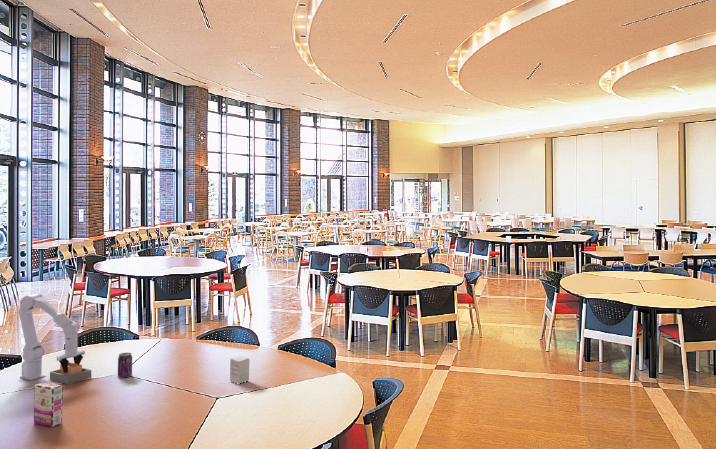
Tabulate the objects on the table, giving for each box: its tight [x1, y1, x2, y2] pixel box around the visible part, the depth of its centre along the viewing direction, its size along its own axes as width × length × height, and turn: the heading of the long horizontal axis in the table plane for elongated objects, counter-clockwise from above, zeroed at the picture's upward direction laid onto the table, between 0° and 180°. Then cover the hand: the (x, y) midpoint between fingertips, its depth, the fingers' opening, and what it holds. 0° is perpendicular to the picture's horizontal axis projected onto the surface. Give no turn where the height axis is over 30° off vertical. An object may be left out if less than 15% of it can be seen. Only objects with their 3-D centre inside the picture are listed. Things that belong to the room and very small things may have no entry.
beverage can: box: [117, 352, 133, 379], centre depth 276 cm, size 7×7×12 cm
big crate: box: [49, 367, 92, 385], centre depth 270 cm, size 15×13×4 cm
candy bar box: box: [33, 381, 64, 428], centre depth 215 cm, size 11×5×16 cm, turn 69°
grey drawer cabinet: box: [229, 355, 250, 385], centre depth 273 cm, size 7×7×13 cm
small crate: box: [59, 361, 83, 376], centre depth 270 cm, size 10×5×5 cm, turn 63°
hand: (70, 371), depth 270 cm, fingers closed on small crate, 5 cm apart
